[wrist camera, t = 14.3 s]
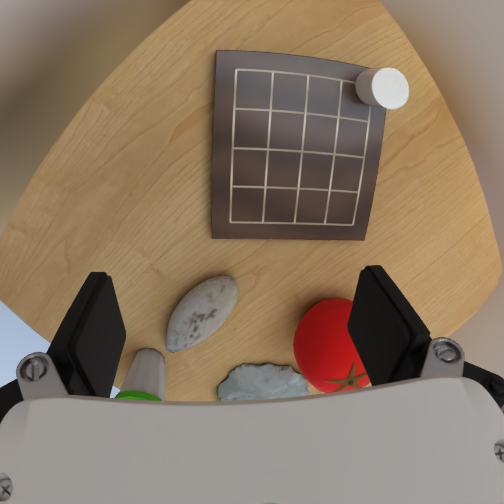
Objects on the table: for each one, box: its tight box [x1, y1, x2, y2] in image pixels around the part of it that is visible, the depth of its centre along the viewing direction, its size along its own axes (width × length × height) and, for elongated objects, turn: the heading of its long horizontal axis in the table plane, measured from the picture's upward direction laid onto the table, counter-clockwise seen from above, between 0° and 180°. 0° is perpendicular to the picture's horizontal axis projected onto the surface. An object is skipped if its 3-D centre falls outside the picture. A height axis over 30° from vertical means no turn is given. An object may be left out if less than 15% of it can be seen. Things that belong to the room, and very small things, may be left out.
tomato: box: [293, 298, 370, 393], centre depth 38 cm, size 12×12×13 cm
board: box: [212, 50, 386, 241], centre depth 31 cm, size 20×18×2 cm
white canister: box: [355, 67, 409, 110], centre depth 26 cm, size 4×4×4 cm
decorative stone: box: [165, 276, 238, 353], centre depth 39 cm, size 6×16×3 cm, turn 144°
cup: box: [115, 348, 166, 401], centre depth 38 cm, size 8×8×15 cm
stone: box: [217, 363, 309, 401], centre depth 49 cm, size 16×4×15 cm
